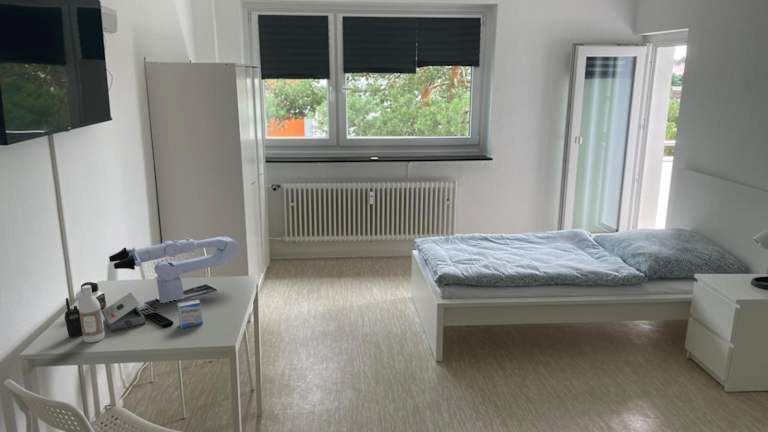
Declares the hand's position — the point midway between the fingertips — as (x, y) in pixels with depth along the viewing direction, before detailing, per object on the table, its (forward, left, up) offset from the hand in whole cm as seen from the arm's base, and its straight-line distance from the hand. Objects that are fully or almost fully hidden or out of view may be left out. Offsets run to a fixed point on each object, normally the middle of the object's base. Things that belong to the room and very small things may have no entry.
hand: (111, 262), depth 233 cm
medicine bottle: (+8, -6, -21) cm, 23 cm away
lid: (+1, +14, -15) cm, 20 cm away
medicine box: (-20, +32, -21) cm, 43 cm away
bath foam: (+12, +23, -21) cm, 33 cm away
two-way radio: (+17, +15, -21) cm, 31 cm away
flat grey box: (0, +14, -20) cm, 25 cm away
